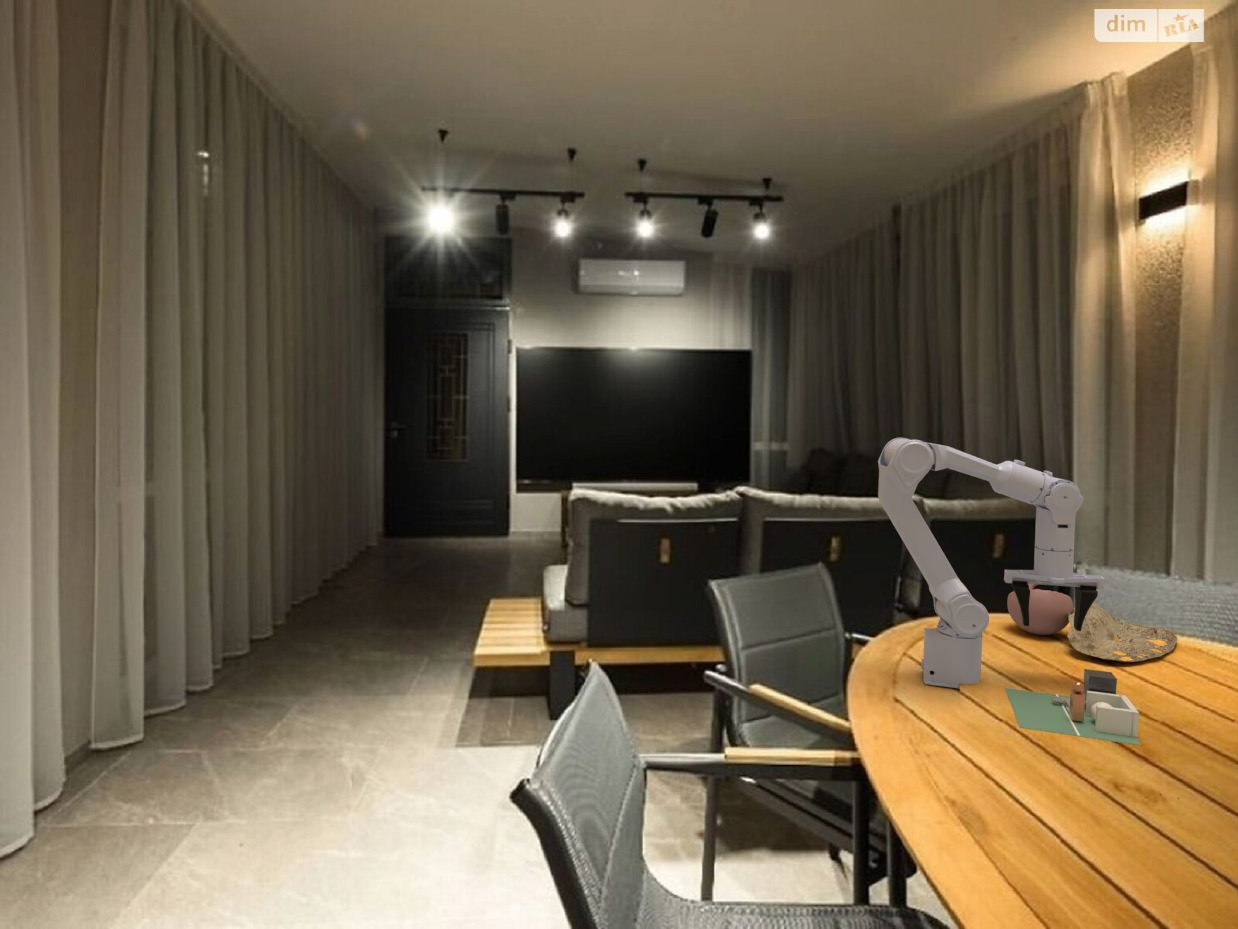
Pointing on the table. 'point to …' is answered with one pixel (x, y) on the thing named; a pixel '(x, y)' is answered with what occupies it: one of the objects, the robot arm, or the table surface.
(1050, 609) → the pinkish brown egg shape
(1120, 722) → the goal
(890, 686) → the table surface
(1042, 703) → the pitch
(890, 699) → the table surface
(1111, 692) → the knob lever
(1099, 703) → the ball
